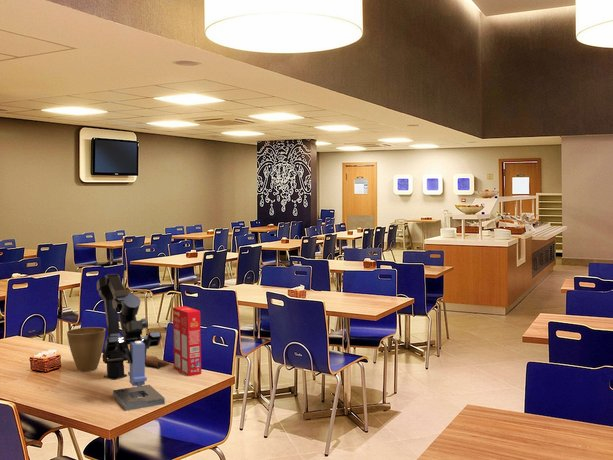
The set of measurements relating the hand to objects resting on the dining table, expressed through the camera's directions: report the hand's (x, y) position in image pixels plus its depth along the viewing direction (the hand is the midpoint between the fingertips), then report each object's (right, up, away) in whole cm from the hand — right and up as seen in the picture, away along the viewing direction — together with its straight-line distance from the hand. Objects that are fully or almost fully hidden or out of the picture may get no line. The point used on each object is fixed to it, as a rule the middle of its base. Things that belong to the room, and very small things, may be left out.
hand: (138, 362), depth 218 cm
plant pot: (-32, -12, +42) cm, 54 cm away
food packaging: (+10, -12, +38) cm, 41 cm away
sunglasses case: (-8, -12, +50) cm, 52 cm away
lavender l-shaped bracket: (-1, -8, +2) cm, 8 cm away
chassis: (-1, -13, +2) cm, 14 cm away
